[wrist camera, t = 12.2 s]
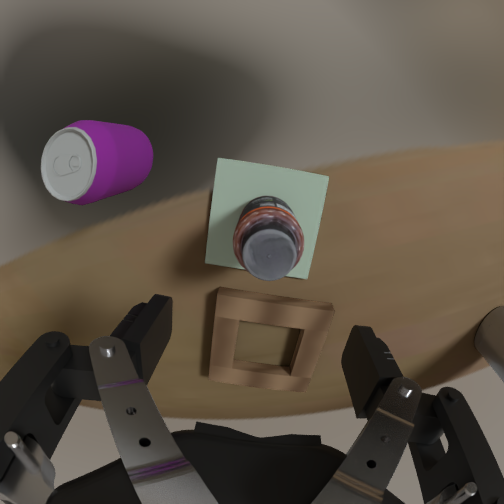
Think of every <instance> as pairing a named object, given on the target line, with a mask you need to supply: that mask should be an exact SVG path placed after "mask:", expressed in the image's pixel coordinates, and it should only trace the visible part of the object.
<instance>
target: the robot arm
mask: <svg viewBox="0 0 504 504" xmlns="http://www.w3.org/2000/svg"><path fill="white" fill-rule="evenodd" d="M172 303H173V301H172V297H168V296H164V295H159V294H154V296H153V297H152V298H151V300H150V301H149V302H148V303H143V302H142V303H140V304H138V305H136V306H134V307H133V308H132V309H131V310H130V311H129V313H128V315H126V316H125V318H124V320H122V321H121V323H120V324H119V325H118V326H117V327H116V329H115V330H114V331H113V333H112V334H111V335H110V336H104V337H100V338H97V339H95V340H93V341H92V342H91V344H90V346H78V345H70V340H69V338H68V336H67V335H66V334H64V333H62V332H55V331H53V332H48V333H45V334H43V335H41V336H40V337H39V338H38V339H37V340H36V341H35V342H34V344H33V345H32V346H31V347H30V348H29V349H28V350H27V351H26V352H25V353H24V355H23V356H22V357H21V358H20V359H19V360H18V361H17V363H16V364H15V365H14V366H13V367H12V368H11V370H10V371H9V372H8V373H7V374H6V375H5V377H4V378H3V379H2V380H1V382H0V499H1V500H2V501H3V502H4V503H5V504H405V503H403V502H402V501H401V500H400V499H398V498H397V497H396V496H395V495H394V494H392V493H391V492H390V491H388V490H387V489H386V488H387V486H388V484H389V482H390V480H391V478H392V476H393V474H394V472H395V470H396V468H397V466H398V464H399V461H400V459H401V457H402V455H403V452H404V450H405V448H406V445H407V443H408V444H409V448H410V451H411V455H412V458H413V462H414V465H415V469H416V472H417V476H418V480H419V484H420V488H421V492H422V496H423V500H424V504H504V478H503V475H502V473H501V471H500V468H499V466H498V464H497V461H496V459H495V457H494V455H493V453H492V450H491V448H490V446H489V444H488V442H487V440H486V438H485V436H484V434H483V432H482V430H481V428H480V426H479V424H478V422H477V420H476V418H475V416H474V414H473V412H472V411H471V409H470V407H469V405H468V403H467V401H466V400H465V398H464V396H463V395H462V394H461V393H460V392H459V391H458V390H456V389H454V388H451V387H443V388H441V389H440V391H439V392H438V394H437V395H436V396H435V395H430V394H425V393H422V390H421V388H420V386H419V385H418V384H417V383H416V382H415V381H413V380H411V379H409V378H406V377H403V375H402V373H401V371H400V369H399V367H398V365H397V363H396V361H395V360H394V358H393V356H392V354H390V350H389V348H388V346H387V345H386V344H385V343H384V342H383V341H382V340H381V339H380V338H376V336H375V334H374V332H373V330H372V328H371V327H368V326H358V325H355V326H353V328H352V330H351V333H350V335H349V338H348V341H347V343H346V346H345V349H344V351H343V354H342V360H341V364H342V368H343V372H344V375H345V378H346V382H347V385H348V389H349V392H350V396H351V399H352V403H353V407H354V410H355V414H356V418H367V420H368V422H367V423H366V425H365V427H364V428H363V430H362V431H361V433H360V434H359V436H358V437H357V439H356V440H355V442H354V443H353V445H352V447H351V448H350V449H349V451H348V452H347V454H344V453H343V452H341V451H339V450H337V449H335V448H333V447H330V446H327V445H324V444H321V438H320V436H319V435H296V434H289V435H281V436H274V437H264V438H259V437H255V436H252V435H248V434H246V433H242V432H240V431H236V430H234V429H231V428H228V427H223V426H217V425H212V424H206V423H201V422H196V426H195V429H194V430H181V431H176V432H173V433H170V431H169V430H168V428H167V427H166V424H165V423H164V420H163V418H162V416H161V414H160V412H159V411H158V409H157V407H156V405H155V402H154V400H153V398H152V396H151V394H150V392H149V390H148V388H147V384H148V382H149V380H150V378H151V376H152V374H153V372H154V370H155V368H156V366H157V364H158V362H159V360H160V358H161V356H162V354H163V352H164V350H165V348H166V346H167V344H168V342H169V339H170V336H171V332H172ZM474 343H475V347H476V349H477V350H478V351H479V352H480V354H481V355H482V356H483V357H484V358H485V360H486V361H487V362H488V363H489V365H490V366H491V367H492V368H493V370H494V371H495V372H496V373H497V375H498V376H499V377H500V378H501V380H502V381H503V382H504V306H501V307H498V308H496V309H494V310H493V311H491V312H490V313H489V314H488V315H487V316H486V318H485V319H484V320H483V322H482V323H481V325H480V327H479V328H478V331H477V333H476V336H475V342H474ZM82 399H85V400H96V401H102V404H103V408H104V411H105V414H106V417H107V421H108V423H109V426H110V429H111V432H112V435H113V438H114V441H115V443H116V446H117V449H118V451H119V454H120V457H121V458H119V459H118V460H115V461H114V462H111V463H109V464H107V465H105V466H103V467H101V468H99V469H97V470H94V471H92V472H90V473H87V474H85V475H83V476H81V477H78V478H76V479H74V480H71V481H69V482H66V483H64V484H62V485H60V486H59V487H57V488H56V489H54V479H55V468H54V466H53V464H52V462H51V461H50V459H51V457H52V455H53V453H54V451H55V449H56V447H57V445H58V443H59V441H60V439H61V437H62V435H63V433H64V431H65V429H66V428H67V426H68V424H69V422H70V420H71V418H72V416H73V415H74V413H75V411H76V409H77V407H78V406H79V404H80V402H81V400H82ZM443 433H445V436H446V438H447V440H448V445H449V446H448V451H447V453H445V451H444V448H443V445H442V443H441V440H440V437H441V436H442V434H443Z"/></svg>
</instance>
